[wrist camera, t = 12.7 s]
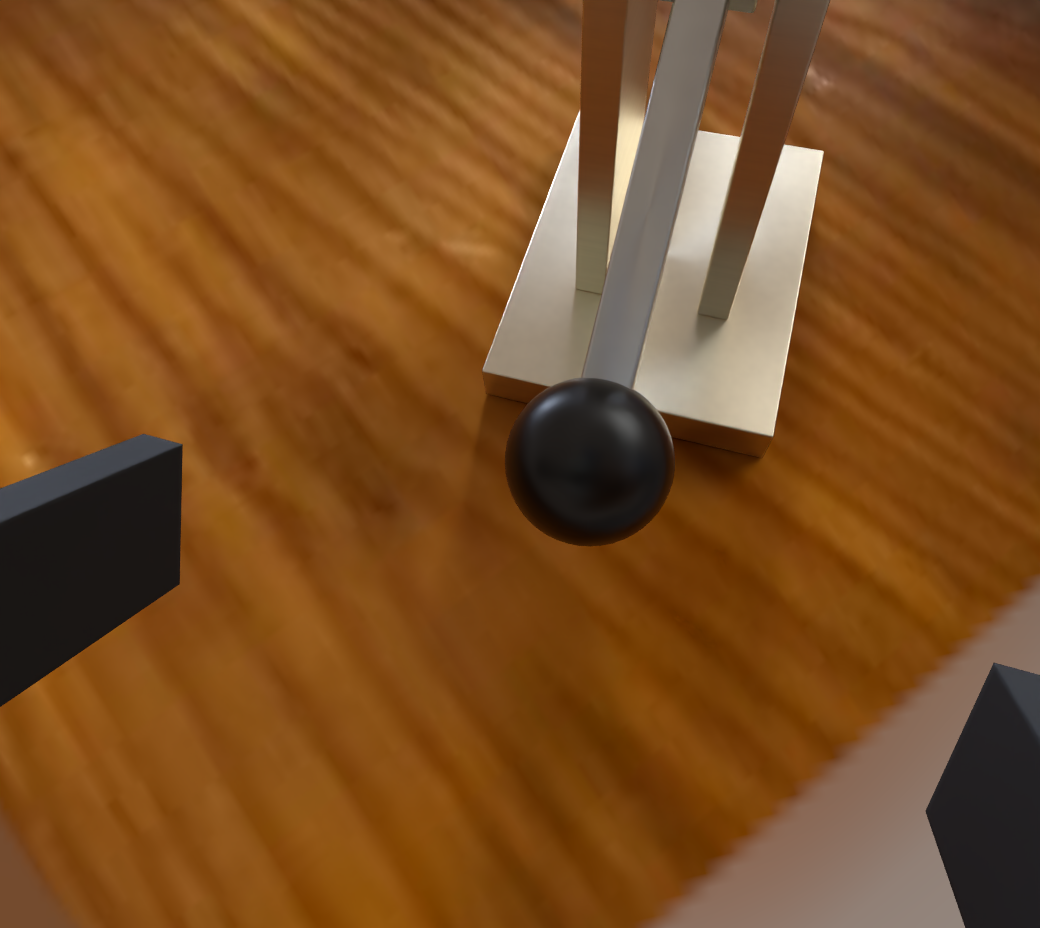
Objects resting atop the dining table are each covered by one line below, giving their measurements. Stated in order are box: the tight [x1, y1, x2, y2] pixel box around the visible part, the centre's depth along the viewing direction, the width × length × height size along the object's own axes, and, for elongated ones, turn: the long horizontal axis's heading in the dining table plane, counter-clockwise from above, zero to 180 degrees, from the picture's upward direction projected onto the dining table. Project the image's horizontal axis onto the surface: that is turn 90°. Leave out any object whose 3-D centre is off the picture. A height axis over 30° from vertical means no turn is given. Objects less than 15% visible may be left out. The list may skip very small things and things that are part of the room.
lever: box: [505, 0, 757, 546], centre depth 16 cm, size 15×4×4 cm, turn 162°
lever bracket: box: [482, 0, 830, 458], centre depth 21 cm, size 12×9×14 cm
